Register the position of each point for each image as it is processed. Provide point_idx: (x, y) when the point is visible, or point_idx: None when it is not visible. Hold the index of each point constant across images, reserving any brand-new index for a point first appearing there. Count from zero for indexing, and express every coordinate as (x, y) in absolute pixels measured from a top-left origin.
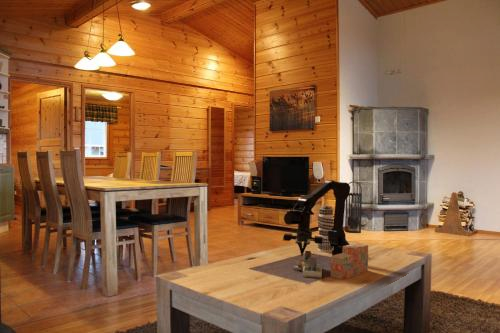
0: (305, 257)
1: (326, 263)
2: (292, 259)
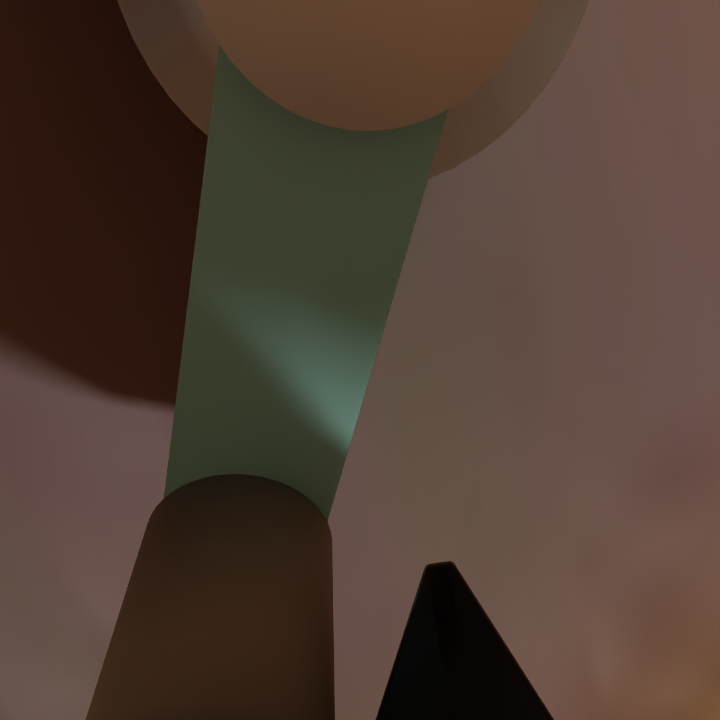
0: (299, 524)
1: (14, 690)
2: (659, 684)
